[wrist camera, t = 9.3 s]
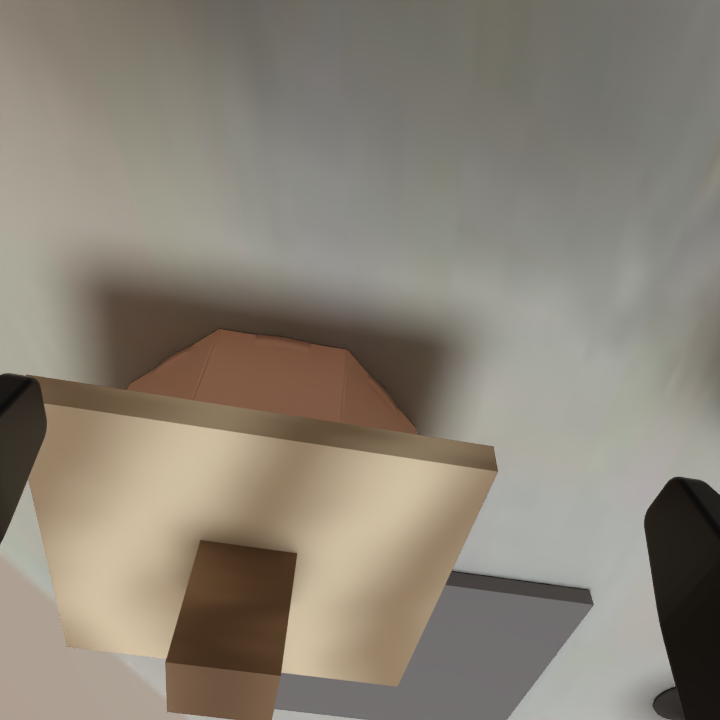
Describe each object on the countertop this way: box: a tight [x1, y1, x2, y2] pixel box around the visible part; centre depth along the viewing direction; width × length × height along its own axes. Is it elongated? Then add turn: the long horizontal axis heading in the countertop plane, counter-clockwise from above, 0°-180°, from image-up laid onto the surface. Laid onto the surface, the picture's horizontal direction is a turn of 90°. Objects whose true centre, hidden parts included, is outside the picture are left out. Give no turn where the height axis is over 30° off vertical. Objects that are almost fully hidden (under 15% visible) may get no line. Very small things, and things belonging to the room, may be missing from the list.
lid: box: [26, 375, 498, 720], centre depth 20 cm, size 14×14×5 cm
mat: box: [274, 572, 594, 720], centre depth 35 cm, size 16×16×1 cm
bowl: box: [127, 329, 416, 434], centre depth 24 cm, size 12×12×5 cm
